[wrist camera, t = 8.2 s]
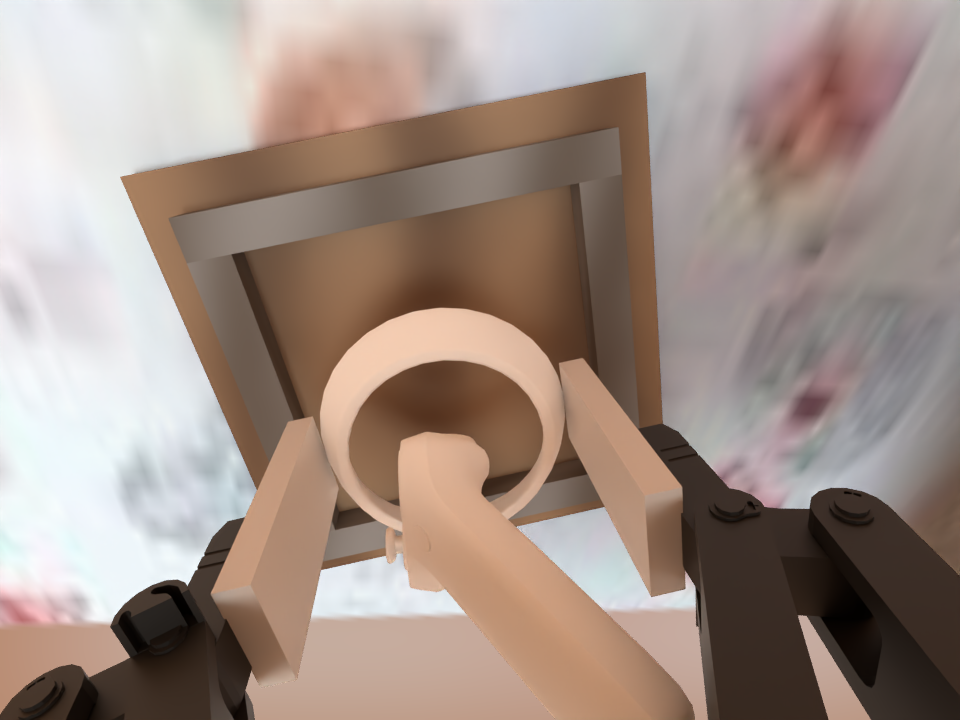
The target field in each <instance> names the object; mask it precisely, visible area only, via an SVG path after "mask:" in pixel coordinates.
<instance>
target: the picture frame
mask: <svg viewBox="0 0 960 720" xmlns="http://www.w3.org/2000/svg"><path fill="white" fill-rule="evenodd" d="M120 178H121V180H122V182H123V185H124V187H125V189H126V191H127V194H128V196H129V198H130V201H131V203H132V205H133V208H134V210H135V212H136V214H137V217H138V219H139V221H140V224H141V226H142V228H143V230H144V233H145V235H146V237H147V240H148V242H149V244H150V246H151V249H152V251H153V253H154V256H155V258H156V260H157V262H158V265H159V267H160V269H161V272H162V274H163V276H164V278H165V281H166V283H167V285H168V288H169V290H170V292H171V294H172V297H173V299H174V301H175V304H176V306H177V308H178V310H179V313H180V315H181V317H182V320H183V322H184V324H185V326H186V329H187V331H188V333H189V336H190V338H191V340H192V342H193V345H194V347H195V349H196V352H197V354H198V356H199V358H200V361H201V363H202V365H203V368H204V370H205V372H206V374H207V377H208V379H209V381H210V384H211V386H212V388H213V390H214V393H215V395H216V397H217V400H218V402H219V404H220V406H221V409H222V411H223V413H224V416H225V418H226V420H227V423H228V425H229V427H230V429H231V432H232V434H233V436H234V439H235V441H236V443H237V445H238V448H239V450H240V452H241V455H242V457H243V459H244V461H245V464H246V466H247V468H248V471H249V473H250V475H251V477H252V480H253V482H254V484H255V487H256V489H257V490H258V488H259V485H260V483H261V481H262V479H263V476H264V474H265V472H266V470H267V468H268V465H269V463H270V461H271V459H272V456H273V454H274V452H275V450H276V448H277V445H278V443H279V441H280V439H281V436H282V434H283V432H284V430H285V428H286V425H287V423H288V422H289V421H294V420H299V419H303V418H308V417H312V416H313V418H314V421H315V424H316V427H317V430H318V432H319V435H320V438H321V441H322V443H323V440H322V437H321V427H320V410H321V404H322V399H323V394H324V390H325V388H326V385H327V383H328V381H329V379H330V376H331V374H332V372H333V370H334V368H335V367H336V365H337V364H338V363H339V361H340V360H341V359H342V357H343V356H344V355H345V353H346V352H347V350H348V349H350V348H351V347H352V346H353V345H354V344H355V343H356V342H357V341H358V340H360V339H361V338H362V337H363V336H364V335H365V334H366V333H368V332H369V331H371V330H373V329H375V328H376V327H378V326H380V325H381V324H383V323H385V322H387V321H388V320H391V319H394V318H396V317H399V316H402V315H405V314H408V313H411V312H414V311H420V310H427V309H434V308H459V309H468V310H473V311H477V312H481V313H485V314H490V315H492V316H494V317H496V318H499V319H501V320H503V321H505V322H507V323H509V324H512V325H513V326H515V327H516V328H517V329H519V330H520V331H521V332H523V333H524V334H526V335H527V336H528V337H530V338H531V339H532V340H533V341H534V342H535V343H536V344H537V345H538V346H539V348H540V349H541V350H542V351H543V352H544V353H545V354H546V355H547V357H548V359H549V360H550V362H551V364H552V366H553V368H554V369H555V371H556V373H557V375H558V378H559V381H560V385H561V388H562V383H561V375H560V368H559V363H561V362H566V361H571V360H575V359H580V358H583V359H584V360H585V362H586V363H587V364H588V365H589V367H590V368H591V369H592V371H593V372H594V373H595V375H596V376H597V377H598V378H599V380H600V381H601V382H602V384H603V385H604V386H605V387H606V389H607V390H608V391H609V393H610V394H611V395H612V397H613V398H614V399H615V400H616V402H617V403H618V404H619V406H620V407H621V408H622V410H623V411H624V412H625V413H626V415H627V416H628V417H629V419H630V420H631V421H632V423H633V424H634V425H635V426H636V428H637V429H639V428H643V427H648V426H652V425H657V424H661V423H662V424H663V420H662V400H661V379H660V359H659V339H658V318H657V298H656V277H655V257H654V236H653V216H652V196H651V175H650V155H649V134H648V114H647V93H646V73H645V72H644V73H639V74H634V75H629V76H624V77H619V78H614V79H609V80H604V81H599V82H594V83H589V84H584V85H579V86H574V87H569V88H564V89H559V90H554V91H549V92H544V93H539V94H534V95H529V96H524V97H519V98H514V99H509V100H504V101H499V102H494V103H489V104H484V105H479V106H474V107H469V108H464V109H459V110H454V111H448V112H443V113H438V114H433V115H428V116H423V117H418V118H413V119H408V120H403V121H398V122H393V123H388V124H383V125H378V126H373V127H368V128H363V129H358V130H353V131H348V132H343V133H338V134H333V135H328V136H323V137H318V138H313V139H308V140H303V141H298V142H293V143H288V144H283V145H278V146H273V147H268V148H263V149H258V150H253V151H248V152H243V153H238V154H233V155H228V156H223V157H218V158H213V159H208V160H203V161H198V162H193V163H188V164H183V165H178V166H173V167H168V168H163V169H158V170H153V171H147V172H142V173H137V174H132V175H127V176H122V177H120ZM562 391H563V390H562ZM564 409H565V405H564ZM424 432H433V433H440V434H460V435H465V436H469V437H471V438H473V440H474V441H475V442H476V444H477V445H478V446H480V447H481V448H482V449H484V450H485V452H486V454H487V456H488V458H489V474H488V476H487V477H486V479H485V481H484V483H483V485H482V490H481V494H482V495H483V496H484V497H485V498H486V499H487V500H488V501H489V502H492V501H493V500H495V499H497V498H499V497H501V496H503V495H505V494H506V493H508V492H509V491H510V490H512V489H513V488H514V487H515V486H517V485H518V484H519V483H520V482H521V481H522V480H523V479H524V478H525V477H526V476H527V474H528V473H529V472H530V471H531V469H532V468H533V466H534V464H535V463H536V461H537V460H538V457H539V454H540V452H541V449H542V443H543V426H542V423H541V420H540V417H539V414H538V411H537V409H536V407H535V406H534V404H533V402H532V401H531V399H530V397H529V396H528V395H527V394H526V393H525V391H524V390H523V389H522V388H521V387H520V386H519V385H518V384H517V383H516V382H514V381H513V380H511V379H510V378H508V377H507V376H506V375H504V374H503V373H501V372H499V371H496V370H494V369H492V368H489V367H487V366H485V365H481V364H476V363H471V362H467V361H449V360H443V361H436V362H430V363H423V364H420V365H417V366H415V367H412V368H409V369H406V370H403V371H402V372H400V373H398V374H396V375H395V376H393V377H391V378H389V379H388V380H386V381H385V382H384V383H383V384H381V385H380V386H379V387H378V388H377V389H376V390H374V391H373V392H372V393H371V394H370V396H369V397H368V398H367V400H366V401H365V402H364V404H363V405H362V406H361V407H360V409H359V411H358V414H357V416H356V418H355V420H354V422H353V424H352V429H351V434H350V438H349V458H350V462H351V465H352V467H353V469H354V471H355V473H356V474H357V476H358V478H359V479H360V480H361V482H362V483H363V484H364V485H365V486H366V487H367V488H368V489H370V490H371V491H372V492H373V493H375V494H376V495H377V496H378V497H380V498H382V499H384V500H386V501H387V502H389V503H391V504H394V505H397V506H400V500H399V482H398V454H399V450H400V444H401V441H402V440H403V439H406V438H409V437H412V436H415V435H418V434H421V433H424ZM323 446H324V444H323ZM324 449H325V448H324ZM325 452H326V451H325ZM330 466H331V465H330ZM331 468H332V467H331ZM332 471H333V469H332ZM333 474H334V477H335V479H336V482H337V485H338V488H339V489H338V494H337V498H336V503H335V508H334V512H333V517H332V521H331V526H330V531H329V535H328V540H327V544H326V549H325V553H324V558H323V563H322V567H321V570H323V569H328V568H332V567H337V566H341V565H346V564H350V563H355V562H359V561H364V560H368V559H373V558H377V557H382V556H386V529H387V528H389V526H387V525H385V524H383V523H381V522H379V521H377V520H376V519H374V518H373V517H372V516H371V515H369V514H368V513H367V512H365V511H364V510H363V509H362V508H361V507H360V506H359V505H358V504H357V503H356V502H355V501H354V500H353V499H352V498H351V496H350V495H349V494H348V493H347V492H346V491H345V489H344V488H343V487H342V485H341V483H340V482H339V480H338V478H337V476H336V474H335V472H334V471H333ZM601 507H605V506H604V504H603V503H602V501H601V499H600V497H599V495H598V493H597V491H596V489H595V487H594V485H593V483H592V481H591V479H590V477H589V475H588V474H587V472H586V470H585V468H584V466H583V464H582V462H581V460H580V458H579V456H578V454H577V452H576V450H575V448H574V446H573V445H572V443H571V441H570V439H569V435H568V428H567V420H566V413H565V422H564V429H563V435H562V441H561V445H560V449H559V452H558V455H557V457H556V460H555V463H554V465H553V468H552V470H551V472H550V473H549V475H548V477H547V478H546V480H545V482H544V483H543V485H542V486H541V488H540V490H539V491H538V493H537V494H536V495H535V496H534V497H533V498H532V499H531V500H530V501H529V503H528V504H527V505H526V506H525V507H524V508H522V509H521V510H520V511H518V512H517V513H516V514H514V515H513V516H512V517H511V518H509V519H508V520H509V521H510V522H511V523H512V524H513V525H514V526H515V527H516V526H521V525H525V524H530V523H534V522H539V521H543V520H547V519H552V518H556V517H561V516H565V515H570V514H574V513H579V512H583V511H588V510H592V509H597V508H601ZM394 531H395V534H396V536H398V535H402V532H401V531H398V530H394Z"/></svg>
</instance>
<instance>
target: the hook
mask: <svg viewBox="0 0 960 720" xmlns="http://www.w3.org/2000/svg"><path fill="white" fill-rule="evenodd" d="M443 360H449V361H467V362H471V363H476V364H481V365H485V366H487V367H489V368H492V369H494V370H496V371H499V372H501V373H503V374H504V375H506V376H507V377H508V378H510V379H511V380H513V381H514V382H516V383H517V384H518V385H519V386H520V387H521V388H522V389H523V390H524V391H525V393H526V394H527V395H528V396H529V397H530V399H531V401H532V402H533V404H534V406H535V407H536V409H537V411H538V414H539V417H540V420H541V423H542V426H543V443H542V449H541V452H540V454H539V457H538V460H537V461H536V463H535V464H534V466H533V468H532V469H531V471H530V472H529V473H528V474H527V476H526V477H525V478H524V479H523V480H522V481H521V482H520V483H519V484H518V485H517V486H515V487H514V488H513V489H512V490H510V491H509V492H508V493H506V494H505V495H503V496H501V497H499V498H497V499H495V500H493V501H492V502H489V501H488V500H487V499H486V498H485V497H484V496H483V495H482V494H481V490H482V485H483V483H484V481H485V479H486V477H487V476H488V474H489V458H488V456H487V454H486V452H485V450H484V449H482V448H481V447H480V446H478V445H477V444H476V442H475V441H474V440H473V438H471V437H469V436H465V435H460V434H440V433H433V432H424V433H421V434H418V435H415V436H412V437H409V438H406V439H403V440H402V441H401V444H400V450H399V454H398V482H399V500H400V506H397V505H394V504H391V503H389V502H387V501H386V500H384V499H382V498H380V497H378V496H377V495H376V494H375V493H373V492H372V491H371V490H370V489H368V488H367V487H366V486H365V485H364V484H363V483H362V482H361V480H360V479H359V478H358V476H357V474H356V473H355V471H354V469H353V467H352V465H351V462H350V458H349V438H350V434H351V429H352V424H353V422H354V420H355V418H356V416H357V414H358V411H359V409H360V407H361V406H362V405H363V404H364V402H365V401H366V400H367V398H368V397H369V396H370V394H371V393H372V392H373V391H374V390H376V389H377V388H378V387H379V386H380V385H381V384H383V383H384V382H385V381H386V380H388V379H389V378H391V377H393V376H395V375H396V374H398V373H400V372H402V371H403V370H406V369H409V368H412V367H415V366H417V365H420V364H423V363H430V362H436V361H443ZM564 422H565V409H564V397H563V391H562V388H561V385H560V381H559V378H558V375H557V373H556V371H555V369H554V368H553V366H552V364H551V362H550V360H549V359H548V357H547V355H546V354H545V353H544V352H543V351H542V350H541V349H540V348H539V346H538V345H537V344H536V343H535V342H534V341H533V340H532V339H531V338H530V337H528V336H527V335H526V334H524V333H523V332H521V331H520V330H519V329H517V328H516V327H515V326H513V325H512V324H509V323H507V322H505V321H503V320H501V319H499V318H496V317H494V316H492V315H490V314H485V313H481V312H477V311H473V310H468V309H459V308H434V309H427V310H420V311H414V312H411V313H408V314H405V315H402V316H399V317H396V318H394V319H391V320H388V321H387V322H385V323H383V324H381V325H380V326H378V327H376V328H375V329H373V330H371V331H369V332H368V333H366V334H365V335H364V336H363V337H362V338H361V339H360V340H358V341H357V342H356V343H355V344H354V345H353V346H352V347H351V348H350V349H348V350H347V352H346V353H345V355H344V356H343V357H342V359H341V360H340V361H339V363H338V364H337V365H336V367H335V368H334V370H333V372H332V374H331V376H330V379H329V381H328V383H327V385H326V388H325V390H324V394H323V399H322V404H321V410H320V427H321V437H322V440H323V444H324V448H325V451H326V455H327V458H328V461H329V463H330V465H331V467H332V469H333V471H334V472H335V474H336V476H337V478H338V480H339V482H340V483H341V485H342V487H343V488H344V489H345V491H346V492H347V493H348V494H349V495H350V496H351V498H352V499H353V500H354V501H355V502H356V503H357V504H358V505H359V506H360V507H361V508H362V509H363V510H364V511H365V512H367V513H368V514H369V515H371V516H372V517H373V518H374V519H376V520H377V521H379V522H381V523H383V524H385V525H387V526H389V528H387V529H386V558H387V562H388V563H389V564H390V563H393V562H394V561H395V559H396V554H399V553H403V558H404V566H405V569H406V570H407V571H408V576H409V583H410V587H411V588H414V589H419V590H426V591H434V592H439V591H441V590H444V589H446V590H447V592H448V593H449V594H450V595H451V596H452V597H453V599H454V600H455V601H456V602H457V603H458V605H459V606H460V607H461V608H462V609H463V610H464V612H465V613H466V614H467V615H468V616H469V618H470V619H471V620H472V621H473V622H474V623H475V625H476V626H477V627H478V628H479V629H480V631H481V632H482V633H483V634H484V635H485V637H486V638H487V639H488V640H489V641H490V642H491V644H492V645H493V646H494V647H495V648H496V649H497V651H498V652H499V653H500V654H501V655H502V657H503V658H504V659H505V660H506V661H507V663H508V664H509V665H510V666H511V667H512V669H513V670H514V671H515V672H516V673H517V675H518V676H519V677H520V678H521V679H522V681H523V682H524V683H525V684H526V685H527V686H528V688H529V689H530V690H531V691H532V692H533V694H534V695H535V696H536V697H537V698H538V700H539V701H540V702H541V703H542V704H543V706H544V707H545V708H546V709H547V710H548V711H549V713H550V714H551V715H552V716H553V717H554V719H555V720H695V716H694V711H693V707H692V704H691V703H690V701H689V700H688V698H687V697H686V695H685V693H684V692H683V690H682V689H681V687H680V686H679V685H678V684H677V682H676V681H675V680H674V679H673V678H672V677H671V676H670V675H669V674H668V673H667V672H666V671H665V670H664V669H663V668H662V667H661V666H660V665H659V664H658V663H657V662H656V661H655V660H654V659H653V658H652V656H651V655H650V654H649V653H648V652H647V651H646V650H645V649H644V648H643V647H641V646H640V645H639V644H638V643H637V642H636V641H635V640H634V639H633V638H632V637H631V636H630V635H629V634H628V633H627V632H626V631H625V630H624V629H623V628H621V626H620V625H618V624H617V623H616V622H615V621H614V620H613V619H612V618H611V617H610V616H609V615H608V614H607V613H606V612H605V611H604V610H603V609H602V608H601V607H600V606H599V605H598V604H597V603H595V602H594V601H593V600H592V599H591V598H590V597H589V596H588V595H587V594H586V593H585V592H584V591H583V590H582V589H581V588H580V587H579V586H578V585H577V584H576V583H575V582H573V581H572V580H571V579H570V578H569V577H568V576H567V575H566V574H565V573H564V572H563V571H562V570H561V569H560V568H559V567H558V566H557V565H556V564H555V563H554V562H553V561H552V560H550V559H549V558H548V557H547V556H546V555H545V554H544V553H543V552H542V551H541V550H540V549H539V548H538V547H537V546H536V545H535V544H534V543H533V542H532V541H530V540H529V539H528V538H527V537H526V536H525V535H524V534H523V533H522V532H521V531H520V530H519V529H517V528H516V527H515V526H514V525H513V524H512V523H511V522H510V521H509V520H508V519H509V518H511V517H512V516H513V515H514V514H516V513H517V512H518V511H520V510H521V509H522V508H524V507H525V506H526V505H527V504H528V503H529V501H530V500H531V499H532V498H533V497H534V496H535V495H536V494H537V493H538V491H539V490H540V488H541V486H542V485H543V483H544V482H545V480H546V478H547V477H548V475H549V473H550V472H551V470H552V468H553V465H554V463H555V460H556V457H557V455H558V452H559V449H560V445H561V441H562V435H563V429H564ZM394 530H398V531H401V532H402V535H398V536H396V534H395V531H394Z"/></svg>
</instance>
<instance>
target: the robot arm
mask: <svg viewBox="0 0 960 720" xmlns="http://www.w3.org/2000/svg"><path fill="white" fill-rule="evenodd" d="M559 368H560V375H561V383H562V390H563V397H564V405H565V413H566V420H567V428H568V435H569V439H570V441H571V443H572V445H573V446H574V448H575V450H576V452H577V454H578V456H579V458H580V460H581V462H582V464H583V466H584V468H585V470H586V472H587V474H588V475H589V477H590V479H591V481H592V483H593V485H594V487H595V489H596V491H597V493H598V495H599V497H600V499H601V501H602V503H603V504H604V506H605V508H606V510H607V512H608V514H609V516H610V518H611V520H612V522H613V524H614V526H615V528H616V530H617V532H618V533H619V535H620V537H621V539H622V541H623V543H624V545H625V547H626V549H627V551H628V553H629V555H630V557H631V559H632V561H633V562H634V564H635V566H636V568H637V570H638V572H639V574H640V576H641V578H642V580H643V582H644V584H645V586H646V588H647V590H648V591H649V593H650V595H651V597H653V596H658V595H662V594H666V593H671V592H675V591H679V590H683V589H685V570H686V572H687V574H688V575H689V577H690V578H691V580H692V582H693V583H694V585H695V586H696V625H697V626H698V627H699V636H700V646H701V656H702V665H703V674H704V685H705V694H706V704H707V714H708V720H828V717H827V713H826V710H825V707H824V703H823V700H822V696H821V693H820V690H819V686H818V683H817V680H816V676H815V673H814V669H813V666H812V662H811V659H810V656H809V653H808V649H807V646H806V643H805V639H804V635H803V632H802V629H801V625H800V622H799V619H798V615H803V616H807V617H808V619H809V620H810V622H811V624H812V625H813V627H814V628H815V630H816V632H817V633H818V635H819V636H820V638H821V640H822V641H823V643H824V644H825V646H826V648H827V649H828V651H829V653H830V654H831V656H832V657H833V659H834V661H835V662H836V664H837V666H838V667H839V669H840V670H841V672H842V674H843V675H844V677H845V678H846V680H847V682H848V683H849V685H850V686H851V688H852V690H853V691H854V693H855V694H856V696H857V698H858V699H859V701H860V702H861V704H862V706H863V707H864V709H865V711H866V712H867V714H868V715H869V717H870V719H871V720H960V576H959V575H958V574H957V573H956V572H955V571H954V570H953V569H952V568H951V567H950V566H949V565H948V564H947V563H946V562H945V561H944V560H943V559H942V558H941V557H940V556H939V555H938V554H937V553H936V552H935V551H934V550H933V549H932V548H931V547H930V546H929V545H928V544H927V543H926V542H925V541H923V540H922V539H921V538H920V537H919V536H918V535H917V534H916V533H915V532H914V531H913V530H912V529H911V528H910V527H909V526H908V525H907V524H906V523H905V522H904V521H903V520H902V519H901V518H900V517H899V516H898V515H897V514H896V513H895V512H894V511H893V510H892V509H891V508H890V507H889V506H888V505H886V504H885V503H884V502H882V501H881V500H879V499H878V498H877V497H874V496H872V495H869V494H867V493H865V492H862V491H857V490H853V489H848V488H830V489H826V490H822V491H819V492H818V493H816V494H815V495H814V496H813V497H812V498H811V503H810V509H778V508H767V507H764V506H763V504H762V503H761V502H760V501H759V500H758V499H756V498H755V497H754V496H752V495H750V494H748V493H745V492H743V491H740V490H735V489H729V488H728V486H727V485H726V484H725V483H724V482H723V481H722V480H721V479H720V478H719V476H718V475H717V474H716V473H715V472H714V471H713V470H712V469H711V468H710V467H709V465H708V464H707V463H706V462H705V461H704V460H703V459H702V458H701V457H700V455H699V456H698V454H697V452H696V451H695V450H694V449H693V448H692V447H691V446H689V443H688V442H687V441H686V440H685V439H684V438H683V437H682V435H681V434H680V433H679V432H677V431H675V430H673V429H671V428H670V427H668V426H666V425H664V424H662V423H661V424H657V425H652V426H648V427H643V428H639V429H637V428H636V426H635V425H634V424H633V423H632V421H631V420H630V419H629V417H628V416H627V415H626V413H625V412H624V411H623V410H622V408H621V407H620V406H619V404H618V403H617V402H616V400H615V399H614V398H613V397H612V395H611V394H610V393H609V391H608V390H607V389H606V387H605V386H604V385H603V384H602V382H601V381H600V380H599V378H598V377H597V376H596V375H595V373H594V372H593V371H592V369H591V368H590V367H589V365H588V364H587V363H586V362H585V360H584V359H583V358H580V359H575V360H571V361H566V362H561V363H559ZM338 489H339V488H338V485H337V482H336V479H335V477H334V474H333V471H332V468H331V466H330V463H329V461H328V458H327V455H326V452H325V449H324V446H323V443H322V441H321V438H320V435H319V432H318V430H317V427H316V424H315V421H314V418H313V416H312V417H308V418H303V419H299V420H294V421H289V422H288V423H287V425H286V428H285V430H284V432H283V434H282V436H281V439H280V441H279V443H278V445H277V448H276V450H275V452H274V454H273V456H272V459H271V461H270V463H269V465H268V468H267V470H266V472H265V474H264V476H263V479H262V481H261V483H260V485H259V488H258V490H257V492H256V494H255V496H254V499H253V501H252V503H251V505H250V508H249V510H248V512H247V514H246V516H245V518H240V519H236V520H231V521H228V522H227V523H226V524H225V525H224V526H223V527H222V528H221V529H220V530H219V531H218V532H217V533H216V534H215V535H214V536H213V537H212V539H211V541H210V543H209V545H208V547H207V549H206V551H205V553H204V554H205V556H204V557H202V559H201V561H200V563H199V565H198V570H196V571H195V573H194V575H193V577H192V579H191V581H190V583H189V584H188V586H187V585H186V583H185V582H182V581H180V580H166V581H163V582H160V583H157V584H154V585H152V586H150V587H148V588H146V589H145V590H143V591H141V592H139V593H138V594H136V595H135V596H134V597H133V598H132V599H130V600H129V601H128V602H127V603H125V604H124V605H123V607H122V608H121V609H120V610H119V611H118V613H117V614H116V615H115V617H114V619H113V621H112V624H111V626H110V627H111V629H112V630H113V632H114V633H115V635H116V636H117V638H118V639H119V641H120V642H121V644H122V645H123V647H124V648H125V650H126V651H127V653H128V654H129V656H130V658H129V659H127V660H125V661H123V662H121V663H119V664H117V665H115V666H112V667H110V668H108V669H106V670H104V671H102V672H100V673H98V674H96V675H94V676H92V677H88V676H87V675H86V673H85V672H84V670H83V669H82V668H81V667H80V666H76V665H72V664H71V665H66V666H61V667H58V668H55V669H53V670H51V671H49V672H47V673H45V674H43V675H41V676H40V677H38V678H36V679H35V680H33V681H32V682H31V683H29V684H28V685H26V686H25V687H24V688H23V689H22V690H21V691H20V692H19V693H18V694H17V695H16V696H14V697H13V698H12V699H11V701H10V702H9V703H8V705H7V706H6V707H5V709H4V710H3V711H2V713H1V714H0V720H255V718H254V712H253V705H252V702H251V700H250V698H249V696H248V694H247V693H246V691H245V689H246V686H247V683H248V680H249V677H250V673H251V670H252V672H253V674H254V676H255V678H256V680H257V682H258V683H259V685H260V687H261V688H264V687H268V686H272V685H276V684H281V683H285V682H290V681H294V680H297V677H298V673H299V668H300V663H301V659H302V654H303V649H304V645H305V640H306V635H307V631H308V627H309V622H310V618H311V613H312V608H313V604H314V599H315V595H316V590H317V586H318V581H319V576H320V572H321V567H322V563H323V558H324V553H325V549H326V544H327V540H328V535H329V531H330V526H331V521H332V517H333V512H334V508H335V503H336V498H337V494H338Z"/></svg>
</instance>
